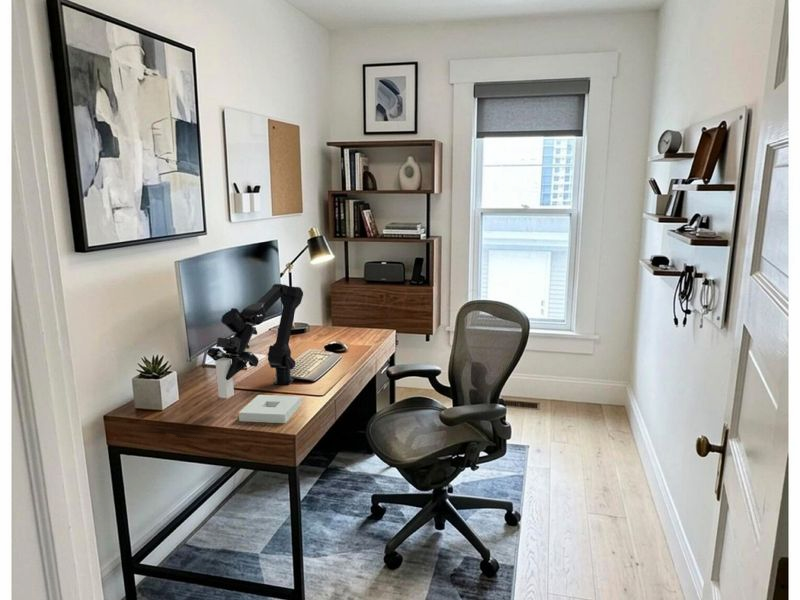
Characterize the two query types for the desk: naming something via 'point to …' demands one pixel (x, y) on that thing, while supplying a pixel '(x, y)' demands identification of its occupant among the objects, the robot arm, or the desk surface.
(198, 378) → the desk surface
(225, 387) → the plug
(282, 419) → the socket
